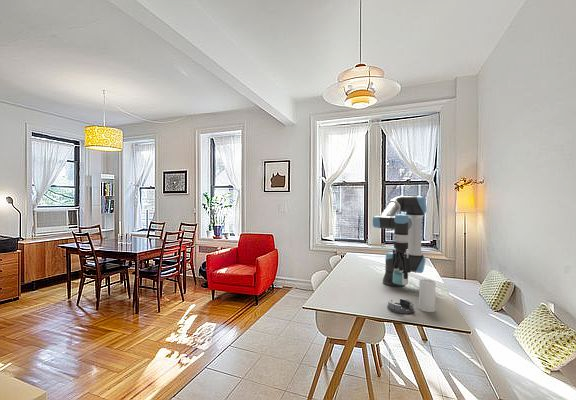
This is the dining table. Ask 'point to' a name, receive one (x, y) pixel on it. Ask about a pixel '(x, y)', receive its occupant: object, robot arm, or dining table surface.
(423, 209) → the robot arm
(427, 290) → the cup
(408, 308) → the dark grey round bowl
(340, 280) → the dining table surface
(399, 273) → the cap
